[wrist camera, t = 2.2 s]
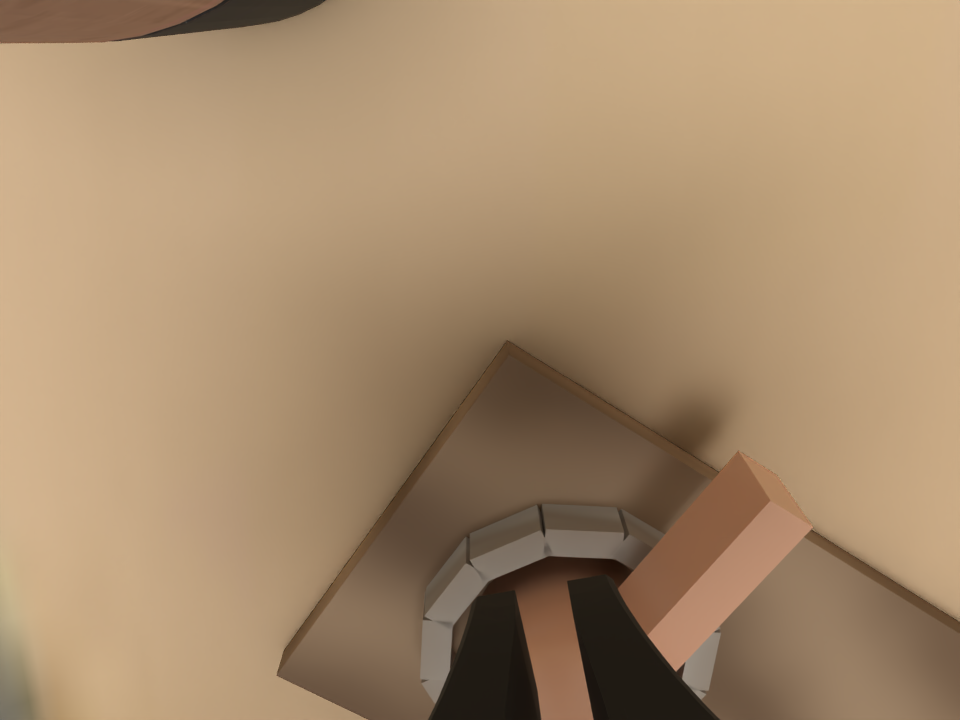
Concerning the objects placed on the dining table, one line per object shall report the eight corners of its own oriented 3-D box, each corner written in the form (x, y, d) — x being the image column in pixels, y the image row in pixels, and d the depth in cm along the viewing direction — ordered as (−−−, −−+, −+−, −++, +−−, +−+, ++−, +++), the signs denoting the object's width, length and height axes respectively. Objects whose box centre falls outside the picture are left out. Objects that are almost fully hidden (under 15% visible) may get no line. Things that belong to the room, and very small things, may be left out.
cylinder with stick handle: (583, 722, 25) (621, 946, 19) (437, 647, 24) (427, 860, 17) (810, 477, 22) (943, 649, 16) (655, 377, 20) (733, 522, 14)
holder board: (823, 914, 30) (849, 980, 27) (283, 651, 25) (267, 707, 23) (1081, 698, 26) (1133, 755, 24) (507, 340, 21) (511, 373, 19)
